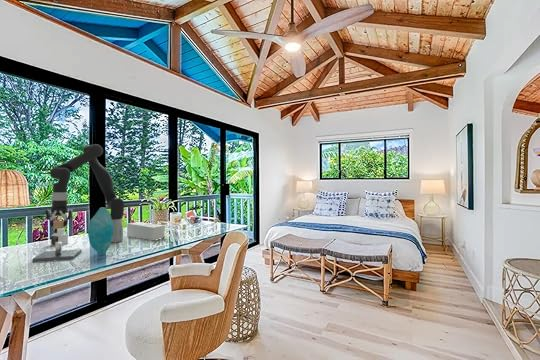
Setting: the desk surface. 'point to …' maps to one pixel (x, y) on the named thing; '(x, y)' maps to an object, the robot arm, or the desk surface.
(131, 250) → the desk surface
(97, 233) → the crystal
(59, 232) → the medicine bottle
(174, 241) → the desk surface
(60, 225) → the bronze ring
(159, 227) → the light grey long block
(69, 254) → the piston stand
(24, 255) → the desk surface
